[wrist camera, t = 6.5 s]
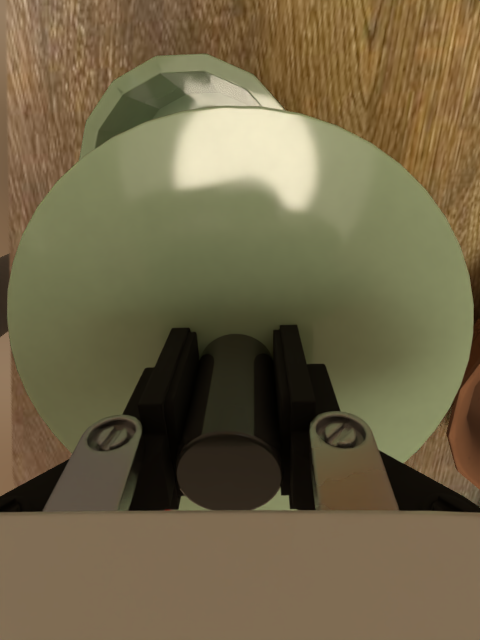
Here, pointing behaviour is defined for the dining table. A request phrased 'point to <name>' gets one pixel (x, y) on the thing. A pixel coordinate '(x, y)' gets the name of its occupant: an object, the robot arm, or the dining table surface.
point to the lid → (240, 289)
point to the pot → (171, 94)
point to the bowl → (467, 417)
